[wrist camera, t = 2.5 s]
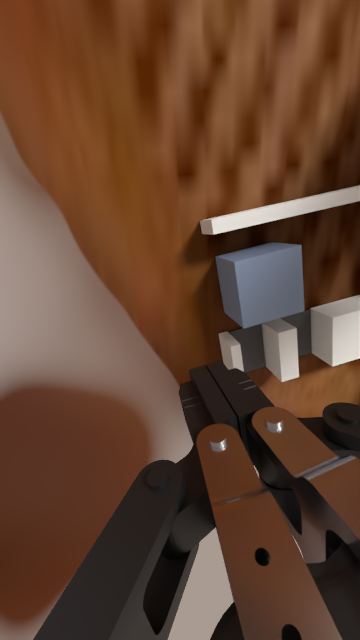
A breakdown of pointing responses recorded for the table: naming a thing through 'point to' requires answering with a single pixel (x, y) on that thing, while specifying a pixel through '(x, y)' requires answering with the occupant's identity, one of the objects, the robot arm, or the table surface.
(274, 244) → the block
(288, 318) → the white open shelf
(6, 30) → the table surface
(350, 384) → the table surface
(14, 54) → the table surface
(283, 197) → the table surface
